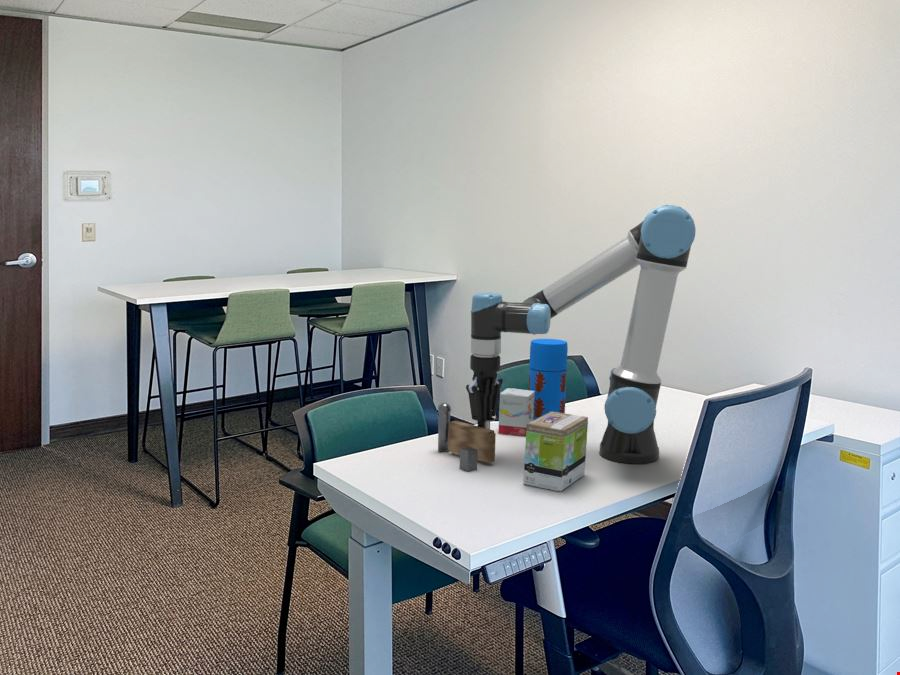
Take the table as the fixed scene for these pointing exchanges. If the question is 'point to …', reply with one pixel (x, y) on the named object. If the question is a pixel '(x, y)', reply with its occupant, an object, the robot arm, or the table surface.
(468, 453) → the block
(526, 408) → the ink box
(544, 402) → the thermos
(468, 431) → the gate
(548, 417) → the tea box
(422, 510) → the table surface
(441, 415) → the hinge post
